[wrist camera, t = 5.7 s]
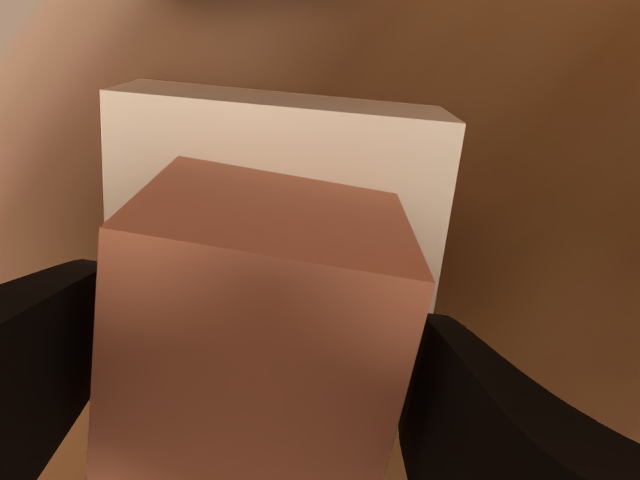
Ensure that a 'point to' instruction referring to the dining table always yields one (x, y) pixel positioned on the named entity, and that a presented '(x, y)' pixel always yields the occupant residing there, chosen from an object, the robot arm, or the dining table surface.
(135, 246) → the terracotta cube
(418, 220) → the cream block
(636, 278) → the dining table surface
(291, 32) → the dining table surface
